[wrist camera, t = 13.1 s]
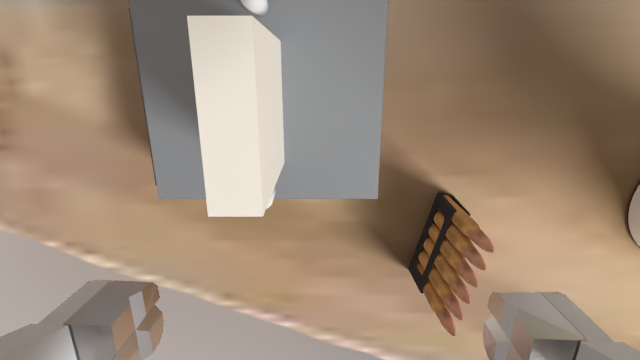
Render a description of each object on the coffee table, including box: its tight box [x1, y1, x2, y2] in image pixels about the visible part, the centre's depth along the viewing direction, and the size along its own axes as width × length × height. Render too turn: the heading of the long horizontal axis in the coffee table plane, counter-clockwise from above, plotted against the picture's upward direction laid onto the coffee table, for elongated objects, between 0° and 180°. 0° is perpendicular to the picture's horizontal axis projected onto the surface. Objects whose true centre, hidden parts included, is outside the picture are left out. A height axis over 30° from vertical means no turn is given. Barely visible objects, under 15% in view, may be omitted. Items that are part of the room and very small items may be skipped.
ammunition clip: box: [409, 192, 494, 336], centre depth 35 cm, size 11×2×12 cm, turn 166°
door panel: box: [187, 16, 284, 216], centre depth 23 cm, size 3×10×12 cm, turn 0°
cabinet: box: [129, 0, 388, 209], centre depth 31 cm, size 21×17×11 cm
